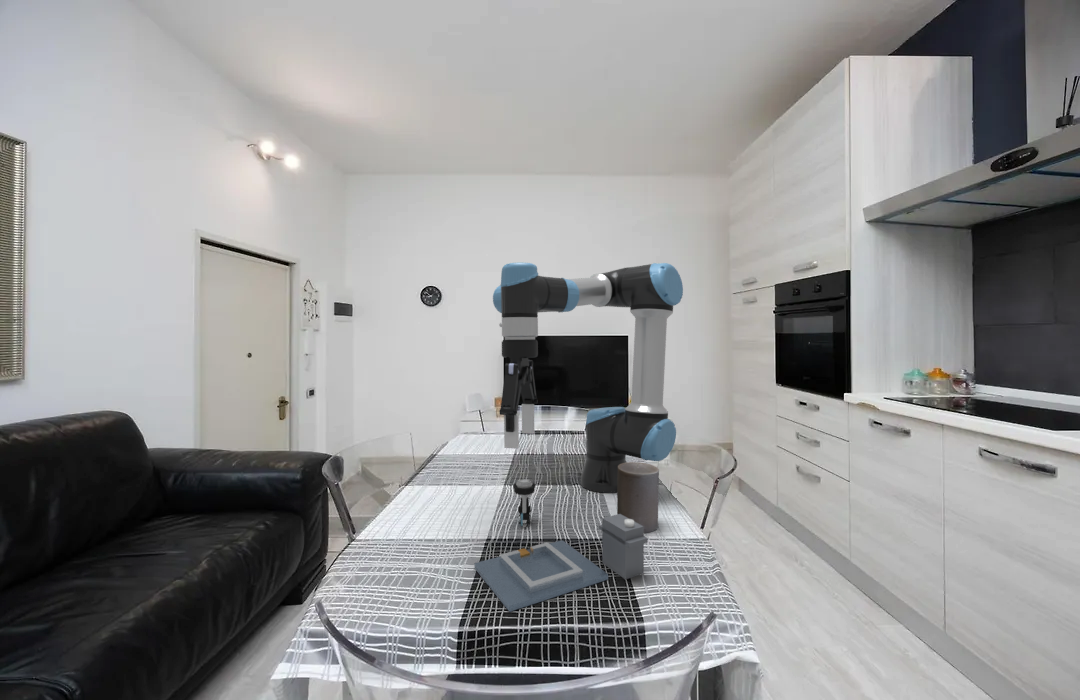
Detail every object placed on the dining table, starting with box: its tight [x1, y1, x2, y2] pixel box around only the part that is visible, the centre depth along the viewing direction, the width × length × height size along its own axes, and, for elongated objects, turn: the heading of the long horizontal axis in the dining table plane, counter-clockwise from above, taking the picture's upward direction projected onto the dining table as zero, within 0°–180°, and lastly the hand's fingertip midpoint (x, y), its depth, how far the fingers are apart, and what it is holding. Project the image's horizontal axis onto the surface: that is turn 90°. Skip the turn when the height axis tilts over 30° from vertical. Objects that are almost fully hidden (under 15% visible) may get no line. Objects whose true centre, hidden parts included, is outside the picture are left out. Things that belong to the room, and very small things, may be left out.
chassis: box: [473, 539, 609, 613], centre depth 86 cm, size 20×16×2 cm
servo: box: [598, 514, 649, 581], centre depth 88 cm, size 4×9×10 cm, turn 29°
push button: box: [512, 478, 536, 528], centre depth 109 cm, size 7×5×10 cm
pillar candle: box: [616, 461, 660, 534], centre depth 108 cm, size 10×10×15 cm
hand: (520, 440), depth 95 cm, fingers open, 13 cm apart
